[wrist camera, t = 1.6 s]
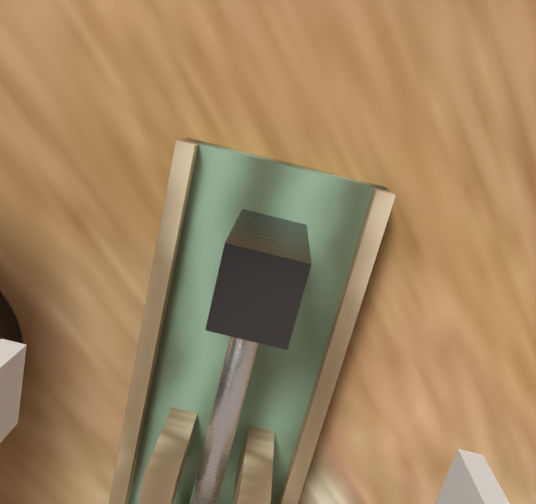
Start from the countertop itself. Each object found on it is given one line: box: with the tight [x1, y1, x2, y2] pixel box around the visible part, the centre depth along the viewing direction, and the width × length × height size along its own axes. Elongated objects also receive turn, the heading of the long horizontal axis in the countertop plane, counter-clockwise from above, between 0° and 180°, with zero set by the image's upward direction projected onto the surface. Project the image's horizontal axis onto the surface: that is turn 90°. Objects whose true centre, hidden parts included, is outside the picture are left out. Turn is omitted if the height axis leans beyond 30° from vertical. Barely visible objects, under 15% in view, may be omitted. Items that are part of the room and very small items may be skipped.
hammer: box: [190, 209, 312, 504], centre depth 31 cm, size 26×5×10 cm, turn 166°
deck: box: [109, 138, 396, 504], centre depth 36 cm, size 14×46×9 cm, turn 166°
